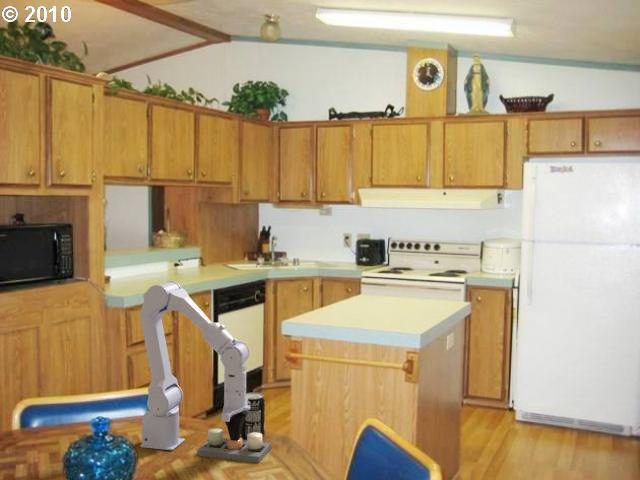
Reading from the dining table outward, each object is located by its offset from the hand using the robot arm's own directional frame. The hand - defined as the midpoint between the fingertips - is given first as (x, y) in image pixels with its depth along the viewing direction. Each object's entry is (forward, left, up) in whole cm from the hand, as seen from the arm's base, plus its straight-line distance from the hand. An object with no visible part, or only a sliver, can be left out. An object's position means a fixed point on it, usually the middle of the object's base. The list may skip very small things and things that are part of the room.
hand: (235, 439), depth 176 cm
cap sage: (-6, 0, -1) cm, 6 cm away
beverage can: (+1, +12, -3) cm, 12 cm away
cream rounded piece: (+5, 0, -1) cm, 6 cm away
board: (0, 0, -3) cm, 3 cm away
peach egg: (0, 0, -3) cm, 3 cm away
